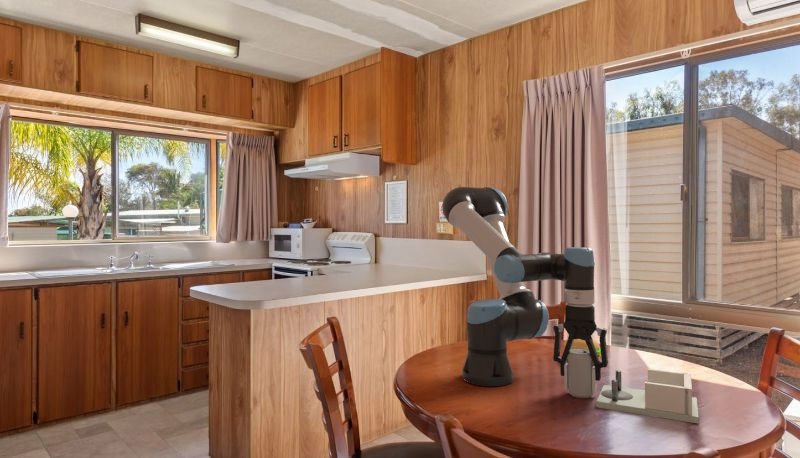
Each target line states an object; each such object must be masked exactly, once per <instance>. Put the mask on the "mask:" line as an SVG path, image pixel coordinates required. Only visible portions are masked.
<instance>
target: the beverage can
mask: <svg viewBox="0 0 800 458" xmlns="http://www.w3.org/2000/svg"><path fill="white" fill-rule="evenodd" d="M567 363H568V391H567V392H568V394H570V396H571V397H574V398H576V399H577V398H578V399H589V398H591V397H592V396H593V395H594V394H593V393H592V368H593V366H594V365H593V360H592V358H591V355H590V352H589V350H585V349H571V350H569V354H568V358H567Z"/></svg>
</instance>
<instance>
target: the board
mask: <svg viewBox="0 0 800 458" xmlns="http://www.w3.org/2000/svg"><path fill="white" fill-rule="evenodd" d="M621 387H622V390H621V391H619V390H618V401H612V385H607V384H603V387H602V388H601V391H600V392H599V395H598V397H597V399H596V401H595V402H596V403H595V407H596V408H599V409H606V410H613V411H618V412H625V413H630V414H637V415H643V416H650V417H655V418H663V419H668V420H674V421H680V422H686V423H692V424H698V425H699V423H700V422H699V421H700V420H699V409H698V398H697V397H695V396H694V397H693V396H692V415H688V414H682V413H675V412H669V411H662V410H656V409H649V408H645V389H637V388H629V387H623V386H621Z"/></svg>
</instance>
